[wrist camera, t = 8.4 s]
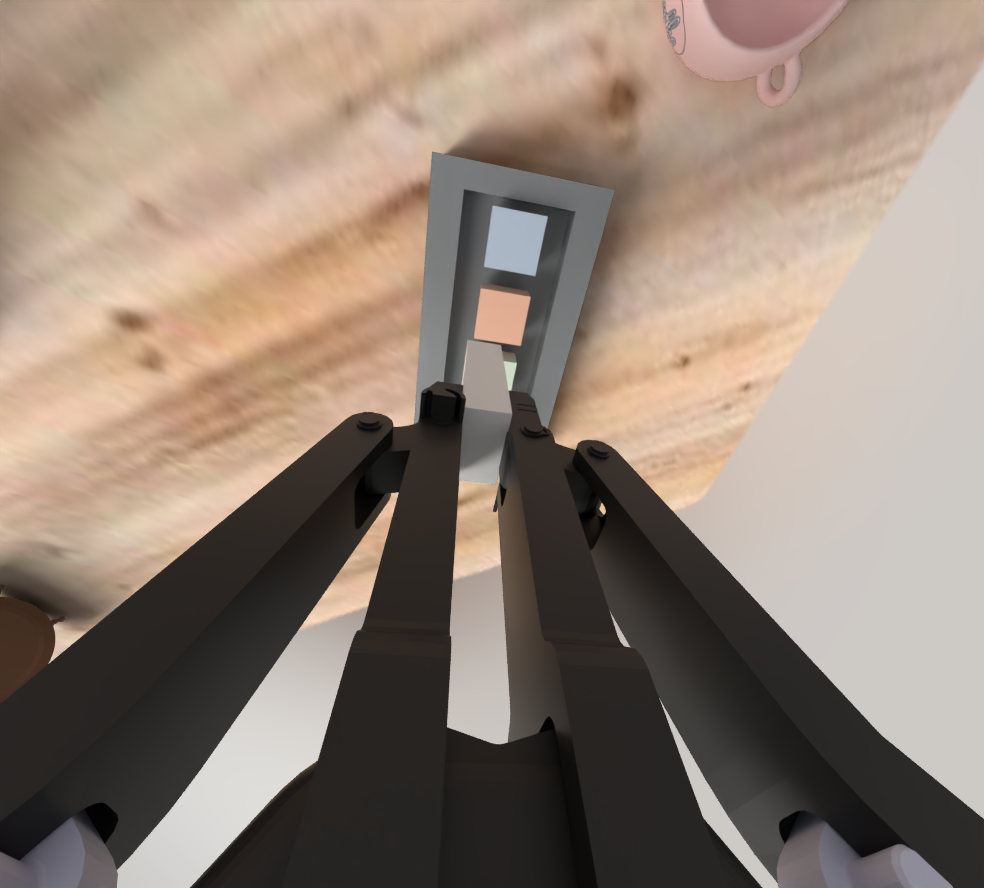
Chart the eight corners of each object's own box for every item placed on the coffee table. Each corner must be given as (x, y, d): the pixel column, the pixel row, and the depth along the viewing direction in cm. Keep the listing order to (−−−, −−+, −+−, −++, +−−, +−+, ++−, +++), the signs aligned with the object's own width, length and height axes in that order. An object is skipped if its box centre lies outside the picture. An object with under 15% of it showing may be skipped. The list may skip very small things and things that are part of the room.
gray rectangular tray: (418, 432, 39) (412, 454, 36) (438, 158, 27) (432, 151, 24) (531, 447, 40) (535, 469, 37) (599, 192, 28) (614, 189, 25)
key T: (474, 329, 31) (474, 338, 28) (481, 282, 29) (481, 288, 27) (518, 336, 31) (520, 345, 29) (527, 290, 29) (530, 297, 27)
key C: (466, 386, 33) (465, 397, 31) (472, 346, 31) (471, 356, 29) (506, 392, 33) (508, 404, 31) (514, 353, 32) (516, 363, 30)
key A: (484, 262, 28) (484, 266, 26) (492, 205, 26) (492, 205, 24) (531, 271, 28) (535, 276, 26) (542, 215, 26) (547, 216, 24)
